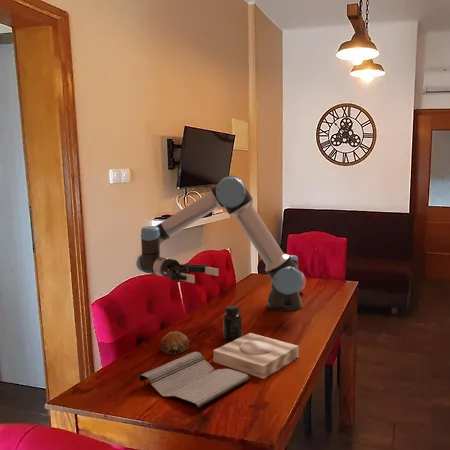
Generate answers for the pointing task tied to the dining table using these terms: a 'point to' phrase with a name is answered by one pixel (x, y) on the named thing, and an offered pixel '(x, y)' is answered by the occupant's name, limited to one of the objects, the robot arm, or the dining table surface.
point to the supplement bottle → (232, 323)
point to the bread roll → (174, 343)
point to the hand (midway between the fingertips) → (206, 275)
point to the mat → (193, 379)
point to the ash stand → (256, 355)
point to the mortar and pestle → (302, 282)
